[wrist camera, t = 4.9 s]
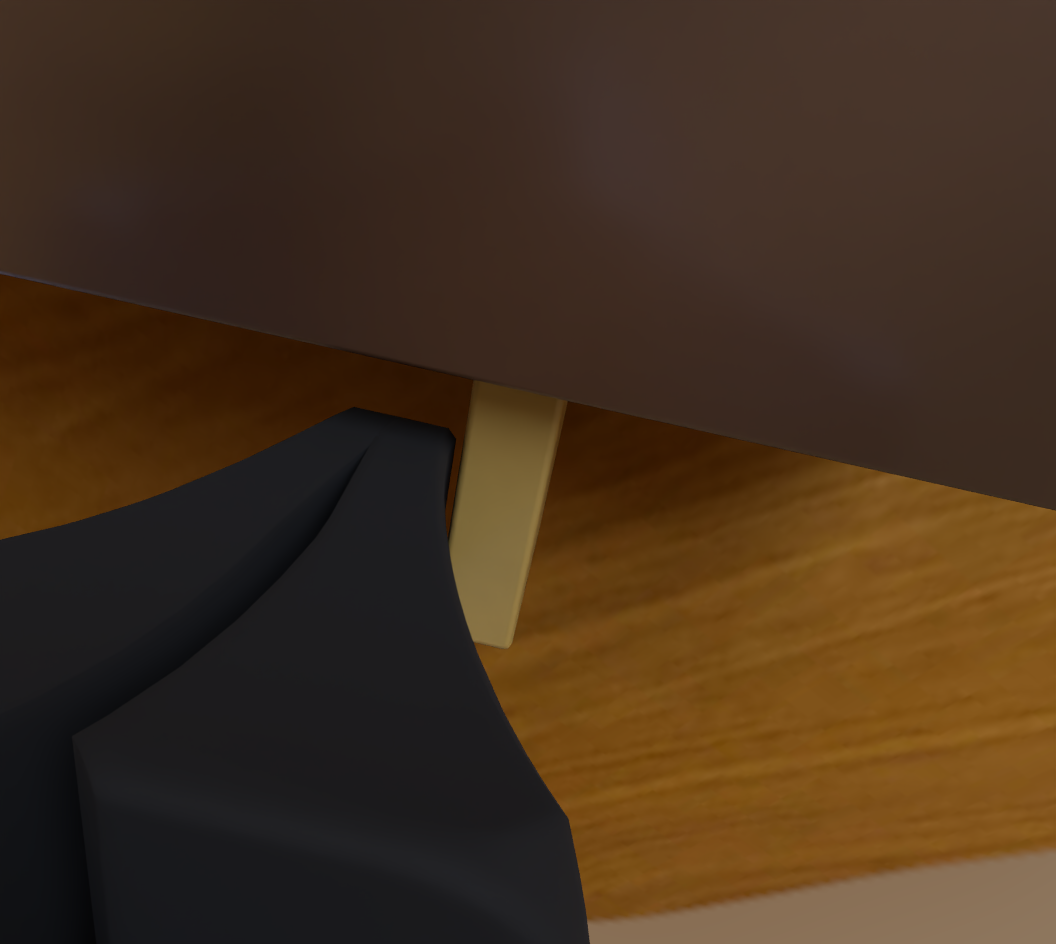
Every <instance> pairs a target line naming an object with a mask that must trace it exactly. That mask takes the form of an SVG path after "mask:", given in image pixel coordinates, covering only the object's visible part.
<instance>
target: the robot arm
mask: <svg viewBox="0 0 1056 944" xmlns="http://www.w3.org/2000/svg"><path fill="white" fill-rule="evenodd" d="M455 443H456V438H455V437H454V435H453V434H452V432H451V431H450V430H449V428H445V427H441V426H437V425H432V424H428V423H423V422H419V421H414V420H410V419H406V418H401V417H397V416H392V415H388V414H383V413H379V412H374V411H370V410H366V409H361V408H357V407H353V408H350V409H348V410H345V411H343V412H341V413H339V414H336V415H334V416H332V417H330V418H328V419H326V420H324V421H322V422H320V423H318V424H316V425H314V426H312V427H310V428H308V429H306V430H304V431H302V432H300V433H298V434H296V435H294V436H292V437H290V438H288V439H286V440H284V441H282V442H280V443H278V444H275V445H273V446H271V447H269V448H267V449H265V450H263V451H261V452H259V453H257V454H255V455H253V456H251V457H248V458H246V459H244V460H242V461H240V462H237V463H235V464H233V465H230V466H228V467H226V468H223V469H221V470H218V471H216V472H214V473H211V474H209V475H206V476H204V477H202V478H199V479H197V480H194V481H192V482H190V483H187V484H185V485H182V486H180V487H178V488H175V489H173V490H170V491H168V492H165V493H162V494H160V495H157V496H154V497H151V498H149V499H146V500H143V501H140V502H137V503H134V504H131V505H128V506H125V507H122V508H119V509H115V510H112V511H109V512H106V513H102V514H99V515H96V516H93V517H90V518H86V519H83V520H80V521H76V522H72V523H69V524H65V525H61V526H57V527H53V528H49V529H44V530H40V531H36V532H32V533H27V534H23V535H19V536H15V537H10V538H6V539H2V540H0V944H590V942H589V933H588V924H587V916H586V909H585V903H584V897H583V891H582V885H581V879H580V873H579V869H578V864H577V859H576V854H575V849H574V844H573V839H572V834H571V829H570V824H569V819H568V818H567V816H566V815H565V813H564V812H563V810H562V809H561V807H560V806H559V804H558V803H557V801H556V800H555V798H554V797H553V795H552V794H551V792H550V791H549V789H548V788H547V786H546V785H545V783H544V782H543V780H542V779H541V777H540V775H539V774H538V772H537V770H536V769H535V767H534V766H533V764H532V762H531V761H530V759H529V757H528V756H527V754H526V753H525V751H524V749H523V747H522V745H521V743H520V742H519V740H518V738H517V736H516V734H515V732H514V730H513V729H512V727H511V725H510V723H509V721H508V719H507V718H506V716H505V714H504V712H503V710H502V708H501V705H500V703H499V701H498V699H497V696H496V694H495V692H494V690H493V687H492V685H491V683H490V681H489V678H488V676H487V674H486V672H485V669H484V667H483V665H482V663H481V660H480V658H479V656H478V653H477V651H476V648H475V645H474V642H473V639H472V636H471V634H470V631H469V628H468V625H467V622H466V619H465V615H464V612H463V608H462V605H461V602H460V598H459V594H458V590H457V586H456V582H455V578H454V573H453V568H452V563H451V557H450V551H449V545H448V539H447V531H446V520H445V508H446V502H447V495H448V489H449V482H450V476H451V469H452V463H453V456H454V450H455Z"/></svg>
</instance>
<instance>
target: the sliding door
mask: <svg viewBox="0 0 1056 944" xmlns="http://www.w3.org/2000/svg"><path fill="white" fill-rule="evenodd" d="M567 403H568V401H566V400H561V399H557V398H552V397H548V396H543V395H539V394H534V393H530V392H526V391H521V390H517V389H512V388H508V387H503V386H499V385H494V384H490V383H485V382H481V381H476V380H473V386H472V392H471V398H470V405H469V411H468V417H467V423H466V430H465V436H464V442H463V448H462V455H461V461H460V467H459V473H458V480H457V486H456V492H455V498H454V504H453V511H452V517H451V523H450V529H449V536H448V545H449V551H450V557H451V563H452V568H453V573H454V578H455V582H456V586H457V590H458V594H459V598H460V602H461V605H462V608H463V612H464V615H465V619H466V622H467V625H468V628H469V631H470V634H471V636H472V639H473V642H475V643H479V644H483V645H488V646H492V647H496V648H500V649H507V648H508V647H509V646H510V645H511V644H512V641H513V637H514V633H515V629H516V624H517V620H518V616H519V612H520V608H521V604H522V600H523V595H524V591H525V587H526V583H527V579H528V575H529V571H530V566H531V562H532V558H533V554H534V550H535V546H536V542H537V538H538V533H539V529H540V525H541V520H542V516H543V511H544V507H545V502H546V498H547V493H548V489H549V484H550V480H551V475H552V471H553V466H554V462H555V457H556V453H557V448H558V444H559V439H560V435H561V430H562V426H563V421H564V417H565V412H566V408H567Z"/></svg>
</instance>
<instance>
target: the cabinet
mask: <svg viewBox="0 0 1056 944" xmlns="http://www.w3.org/2000/svg"><path fill="white" fill-rule="evenodd" d="M0 274H4V275H8V276H13V277H17V278H22V279H26V280H31V281H35V282H40V283H44V284H48V285H53V286H57V287H62V288H66V289H71V290H75V291H80V292H84V293H89V294H93V295H98V296H102V297H106V298H111V299H115V300H120V301H124V302H129V303H133V304H138V305H142V306H147V307H151V308H155V309H160V310H164V311H169V312H173V313H178V314H182V315H187V316H191V317H196V318H200V319H205V320H209V321H213V322H218V323H222V324H227V325H231V326H236V327H240V328H245V329H249V330H254V331H258V332H262V333H267V334H271V335H276V336H280V337H285V338H289V339H294V340H298V341H303V342H307V343H312V344H316V345H320V346H325V347H329V348H334V349H338V350H343V351H347V352H352V353H356V354H361V355H365V356H369V357H374V358H378V359H383V360H387V361H392V362H396V363H401V364H405V365H410V366H414V367H419V368H423V369H427V370H432V371H436V372H441V373H445V374H450V375H454V376H459V377H463V378H468V379H472V380H476V381H481V382H485V383H490V384H494V385H499V386H503V387H508V388H512V389H517V390H521V391H526V392H530V393H534V394H539V395H543V396H548V397H552V398H557V399H561V400H566V401H570V402H575V403H579V404H583V405H588V406H592V407H597V408H601V409H606V410H610V411H615V412H619V413H624V414H628V415H633V416H637V417H641V418H646V419H650V420H655V421H659V422H664V423H668V424H673V425H677V426H682V427H686V428H690V429H695V430H699V431H704V432H708V433H713V434H717V435H722V436H726V437H731V438H735V439H740V440H744V441H748V442H753V443H757V444H762V445H766V446H771V447H775V448H780V449H784V450H789V451H793V452H797V453H802V454H806V455H811V456H815V457H820V458H824V459H829V460H833V461H838V462H842V463H847V464H851V465H855V466H860V467H864V468H869V469H873V470H878V471H882V472H887V473H891V474H896V475H900V476H904V477H909V478H913V479H918V480H922V481H927V482H931V483H936V484H940V485H945V486H949V487H954V488H958V489H962V490H967V491H971V492H976V493H980V494H985V495H989V496H994V497H998V498H1003V499H1007V500H1011V501H1016V502H1020V503H1025V504H1029V505H1034V506H1038V507H1043V508H1047V509H1052V510H1056V0H0Z"/></svg>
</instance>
